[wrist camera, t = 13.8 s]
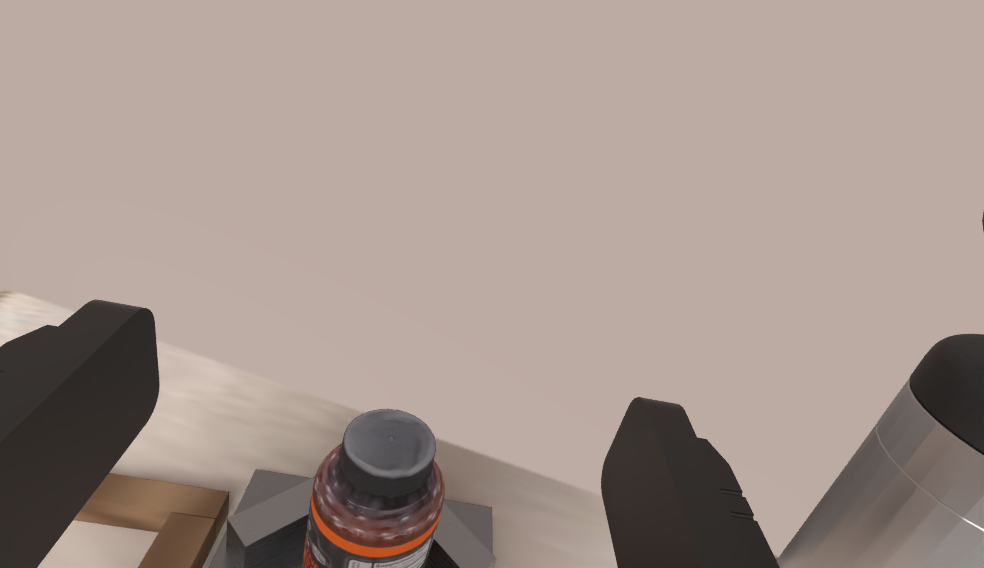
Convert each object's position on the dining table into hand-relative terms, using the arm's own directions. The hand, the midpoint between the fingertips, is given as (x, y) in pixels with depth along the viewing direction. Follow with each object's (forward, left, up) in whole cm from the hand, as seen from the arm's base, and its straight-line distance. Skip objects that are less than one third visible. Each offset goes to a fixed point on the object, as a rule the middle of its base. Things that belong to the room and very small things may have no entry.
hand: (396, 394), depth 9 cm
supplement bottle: (0, -11, -23) cm, 25 cm away
